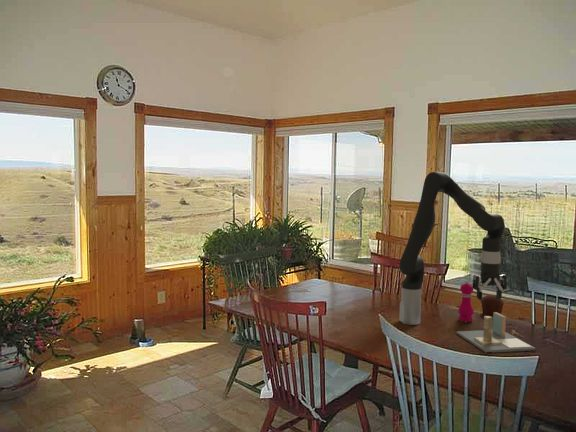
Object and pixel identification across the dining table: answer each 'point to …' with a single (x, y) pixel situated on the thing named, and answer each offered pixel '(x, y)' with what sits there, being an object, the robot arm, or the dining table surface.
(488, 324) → the square plate with post
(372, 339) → the dining table surface
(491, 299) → the muffin
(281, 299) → the dining table surface
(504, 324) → the tile
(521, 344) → the plate
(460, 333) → the mat
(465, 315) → the pepper mill
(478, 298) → the robot arm
